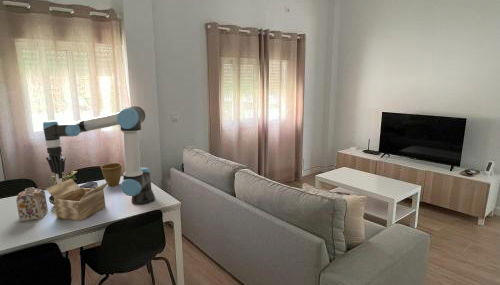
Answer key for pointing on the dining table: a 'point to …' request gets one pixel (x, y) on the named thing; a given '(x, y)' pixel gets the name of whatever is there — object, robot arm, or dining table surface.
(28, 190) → the decorative jar
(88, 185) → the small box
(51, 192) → the far flap
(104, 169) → the plant pot
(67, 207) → the carton
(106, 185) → the near flap
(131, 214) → the dining table surface
